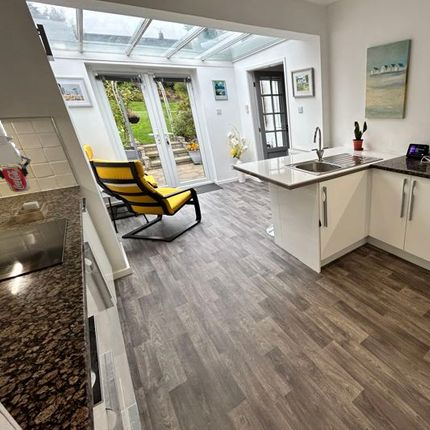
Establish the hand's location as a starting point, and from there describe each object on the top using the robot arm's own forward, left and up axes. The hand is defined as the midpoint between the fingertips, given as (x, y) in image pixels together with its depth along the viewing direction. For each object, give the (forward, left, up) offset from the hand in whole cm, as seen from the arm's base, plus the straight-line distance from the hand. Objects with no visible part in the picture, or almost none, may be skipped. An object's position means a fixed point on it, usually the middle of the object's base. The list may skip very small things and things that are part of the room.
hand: (15, 176), depth 131 cm
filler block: (0, +6, -22) cm, 23 cm away
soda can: (0, 0, -7) cm, 7 cm away
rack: (0, +2, -22) cm, 22 cm away
